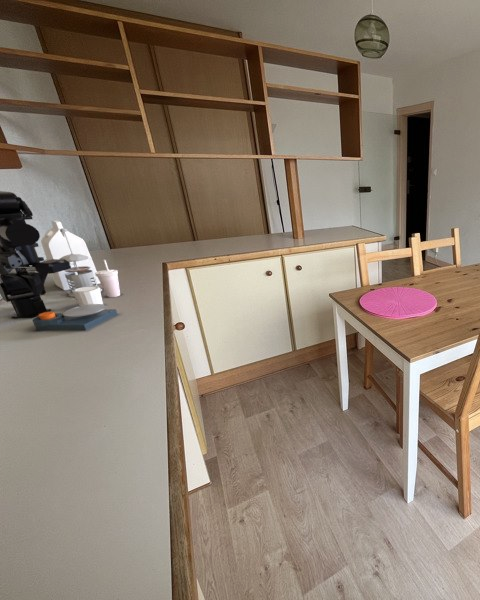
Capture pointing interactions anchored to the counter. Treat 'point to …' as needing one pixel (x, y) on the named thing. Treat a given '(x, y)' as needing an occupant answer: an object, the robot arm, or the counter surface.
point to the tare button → (46, 315)
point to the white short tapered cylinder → (88, 295)
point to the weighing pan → (84, 310)
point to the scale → (74, 321)
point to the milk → (65, 252)
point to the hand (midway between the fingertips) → (38, 294)
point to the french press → (78, 271)
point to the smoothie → (109, 281)
